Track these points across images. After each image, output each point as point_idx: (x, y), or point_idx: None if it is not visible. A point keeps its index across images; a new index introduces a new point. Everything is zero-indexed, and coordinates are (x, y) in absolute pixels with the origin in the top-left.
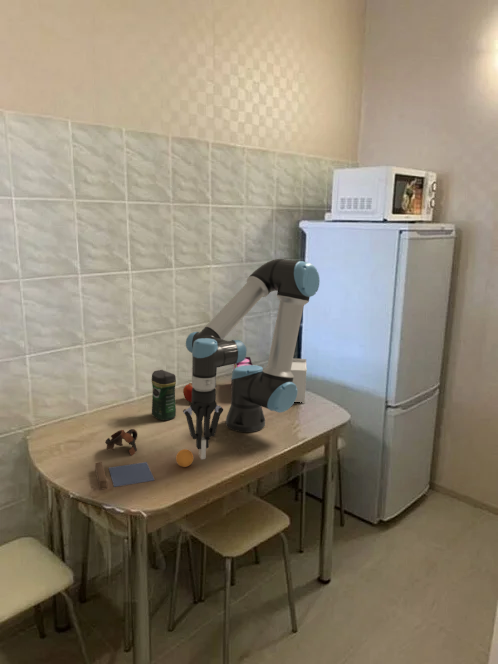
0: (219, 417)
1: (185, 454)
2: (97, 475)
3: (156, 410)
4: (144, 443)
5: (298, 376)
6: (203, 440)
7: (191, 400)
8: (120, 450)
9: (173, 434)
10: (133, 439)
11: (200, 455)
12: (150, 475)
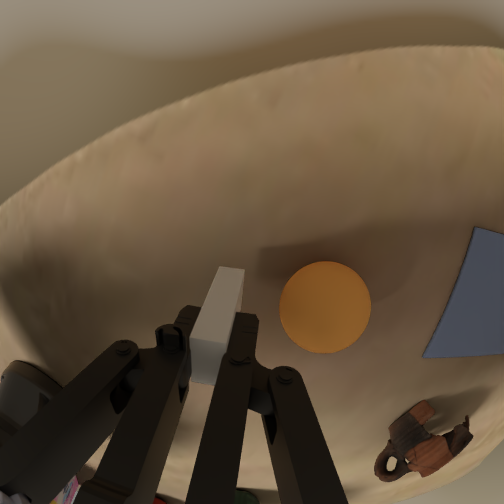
0: (8, 440)
1: (343, 301)
2: None
3: None
4: (350, 443)
5: None
6: (211, 340)
7: (158, 502)
8: (423, 425)
9: (247, 455)
10: (407, 449)
11: (241, 290)
12: (469, 266)
